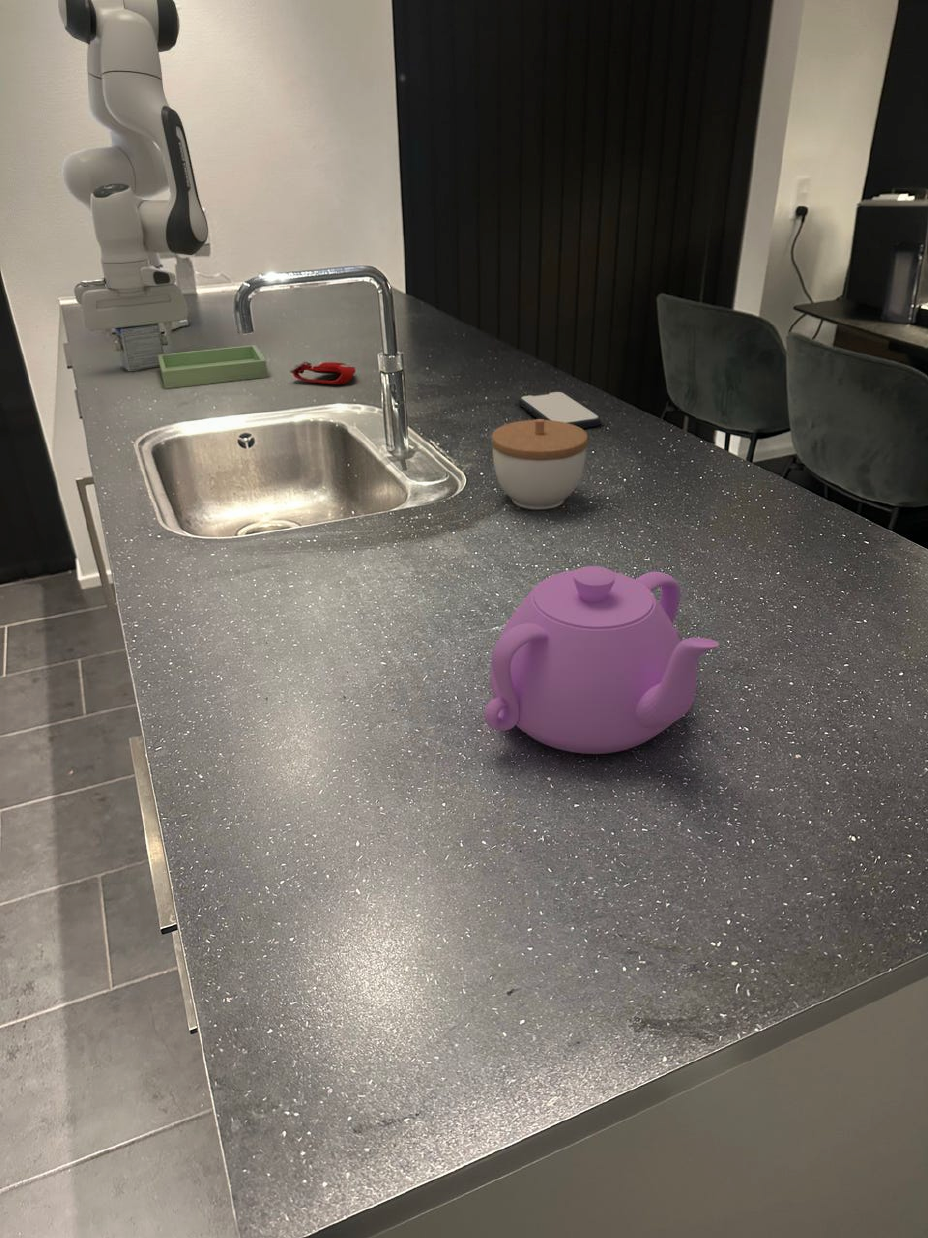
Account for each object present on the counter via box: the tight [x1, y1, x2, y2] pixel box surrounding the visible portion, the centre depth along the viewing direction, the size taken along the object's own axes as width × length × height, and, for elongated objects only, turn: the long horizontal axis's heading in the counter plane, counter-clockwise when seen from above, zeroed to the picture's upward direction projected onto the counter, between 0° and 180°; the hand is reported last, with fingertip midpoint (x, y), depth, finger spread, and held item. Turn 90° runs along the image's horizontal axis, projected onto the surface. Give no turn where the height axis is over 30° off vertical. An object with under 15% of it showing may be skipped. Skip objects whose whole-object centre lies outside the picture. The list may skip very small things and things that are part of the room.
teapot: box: [483, 565, 720, 755], centre depth 76 cm, size 22×22×14 cm
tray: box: [158, 344, 269, 389], centre depth 180 cm, size 14×20×3 cm
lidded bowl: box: [491, 418, 589, 510], centre depth 120 cm, size 13×13×11 cm
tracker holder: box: [289, 360, 356, 385], centre depth 174 cm, size 12×4×10 cm
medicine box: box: [115, 323, 165, 373], centre depth 185 cm, size 8×4×9 cm, turn 126°
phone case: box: [518, 391, 601, 430], centre depth 153 cm, size 9×2×16 cm
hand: (142, 347), depth 184 cm, fingers closed on medicine box, 8 cm apart
